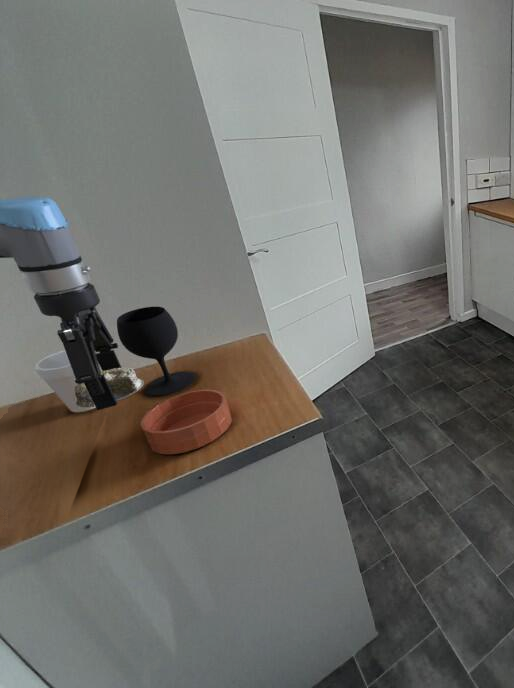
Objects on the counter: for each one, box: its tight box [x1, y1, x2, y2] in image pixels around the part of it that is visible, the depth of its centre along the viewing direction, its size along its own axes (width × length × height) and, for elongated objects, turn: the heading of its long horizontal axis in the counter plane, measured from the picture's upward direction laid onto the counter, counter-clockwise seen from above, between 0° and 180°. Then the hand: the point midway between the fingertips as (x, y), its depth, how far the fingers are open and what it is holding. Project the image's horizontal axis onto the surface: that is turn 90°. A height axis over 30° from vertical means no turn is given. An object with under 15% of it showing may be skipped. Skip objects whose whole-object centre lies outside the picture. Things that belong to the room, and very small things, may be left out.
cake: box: [75, 367, 145, 408], centre depth 80 cm, size 10×10×5 cm
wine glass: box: [116, 306, 196, 398], centre depth 99 cm, size 10×10×20 cm
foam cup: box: [34, 349, 102, 413], centre depth 93 cm, size 10×9×13 cm
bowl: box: [140, 388, 233, 455], centre depth 87 cm, size 14×14×6 cm
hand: (112, 392), depth 81 cm, fingers closed on cake, 10 cm apart
